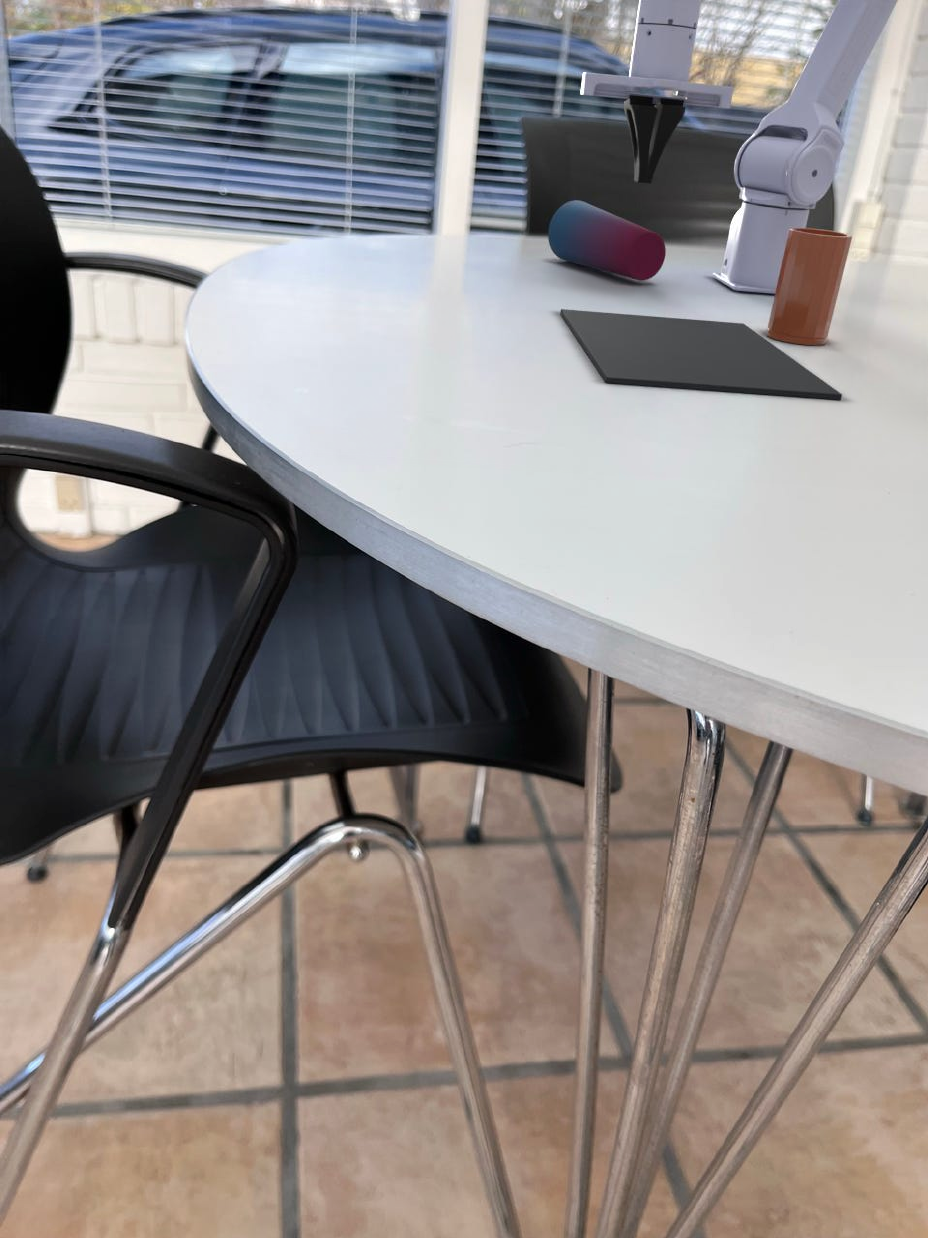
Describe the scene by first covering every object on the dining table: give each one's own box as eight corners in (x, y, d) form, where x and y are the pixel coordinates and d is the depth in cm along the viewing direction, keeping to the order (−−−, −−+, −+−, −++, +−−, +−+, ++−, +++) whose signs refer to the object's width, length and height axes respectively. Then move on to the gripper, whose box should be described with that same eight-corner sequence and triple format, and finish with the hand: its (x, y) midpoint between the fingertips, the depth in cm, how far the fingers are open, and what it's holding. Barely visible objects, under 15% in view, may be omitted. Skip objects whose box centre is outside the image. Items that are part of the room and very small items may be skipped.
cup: (674, 278, 112) (599, 251, 124) (671, 215, 108) (594, 193, 120) (622, 296, 111) (551, 267, 122) (617, 232, 107) (544, 208, 118)
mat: (560, 313, 92) (560, 308, 92) (742, 327, 94) (743, 323, 94) (606, 382, 71) (606, 376, 71) (841, 399, 73) (842, 394, 72)
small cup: (758, 329, 94) (781, 225, 89) (813, 334, 94) (838, 230, 90) (777, 342, 89) (801, 233, 85) (834, 347, 89) (861, 238, 85)
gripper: (597, 17, 93) (577, 179, 99) (753, 33, 94) (723, 192, 100) (586, 21, 99) (567, 173, 105) (731, 35, 100) (705, 185, 106)
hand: (642, 182), depth 103 cm, fingers closed
